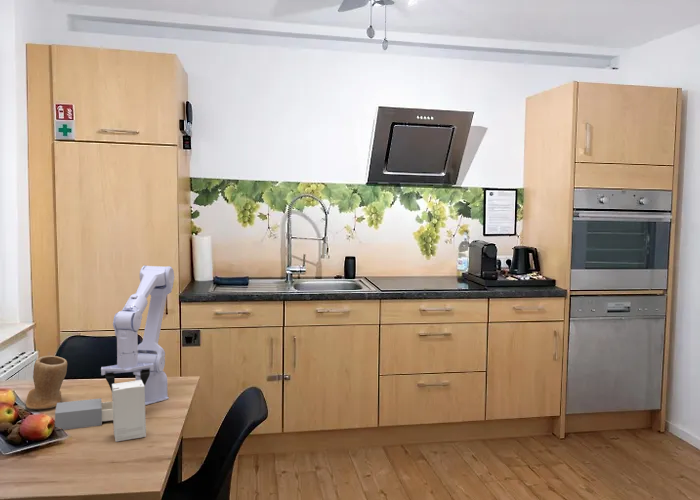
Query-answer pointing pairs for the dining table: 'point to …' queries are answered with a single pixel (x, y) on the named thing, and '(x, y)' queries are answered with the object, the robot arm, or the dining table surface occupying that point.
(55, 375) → the stone cup
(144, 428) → the skincare box
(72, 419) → the carton
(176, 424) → the dining table surface
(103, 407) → the white pull-out drawer
